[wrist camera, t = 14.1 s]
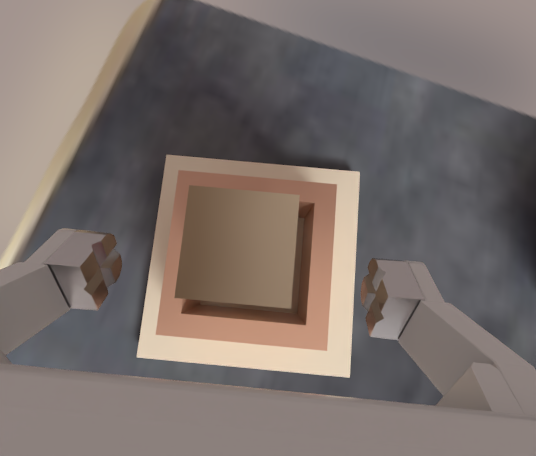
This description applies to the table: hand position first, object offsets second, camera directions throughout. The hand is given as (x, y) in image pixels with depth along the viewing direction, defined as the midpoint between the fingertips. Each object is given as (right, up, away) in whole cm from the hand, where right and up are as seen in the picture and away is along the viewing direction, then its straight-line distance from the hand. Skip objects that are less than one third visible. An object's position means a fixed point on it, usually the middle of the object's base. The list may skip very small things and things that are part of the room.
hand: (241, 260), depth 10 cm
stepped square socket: (0, -1, +9) cm, 9 cm away
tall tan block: (0, -1, +8) cm, 8 cm away
